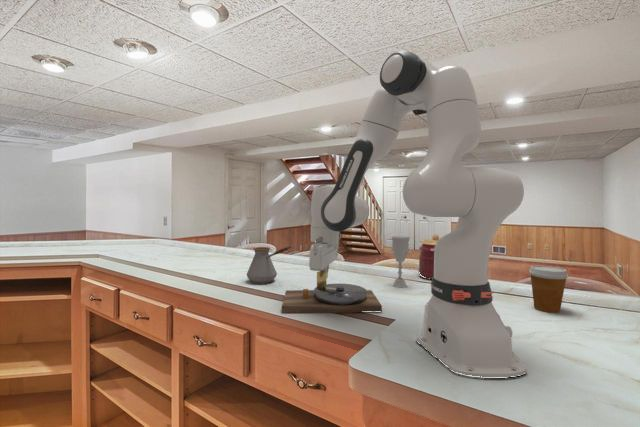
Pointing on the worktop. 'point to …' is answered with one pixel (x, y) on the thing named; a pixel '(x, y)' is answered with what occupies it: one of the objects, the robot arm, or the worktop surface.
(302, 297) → the walnut stand
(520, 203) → the robot arm
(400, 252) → the chalice
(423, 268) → the canister
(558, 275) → the disposable coffee cup
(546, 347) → the worktop surface
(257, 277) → the coffee pot
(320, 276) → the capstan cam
